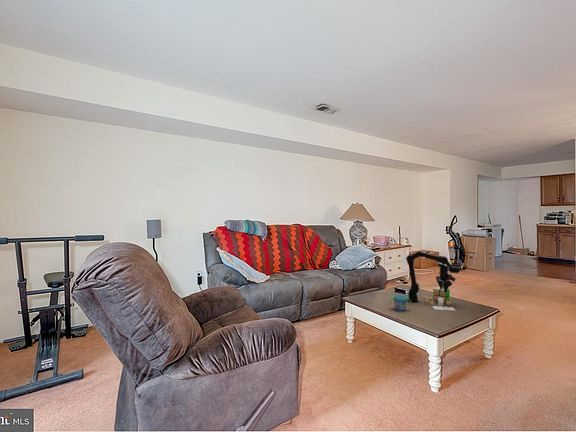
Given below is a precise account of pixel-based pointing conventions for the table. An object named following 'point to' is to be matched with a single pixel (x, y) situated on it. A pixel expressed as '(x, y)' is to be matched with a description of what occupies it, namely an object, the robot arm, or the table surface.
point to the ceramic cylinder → (440, 301)
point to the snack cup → (400, 302)
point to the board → (443, 308)
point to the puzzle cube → (441, 294)
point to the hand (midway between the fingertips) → (443, 290)
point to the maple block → (429, 300)
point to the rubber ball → (448, 303)
